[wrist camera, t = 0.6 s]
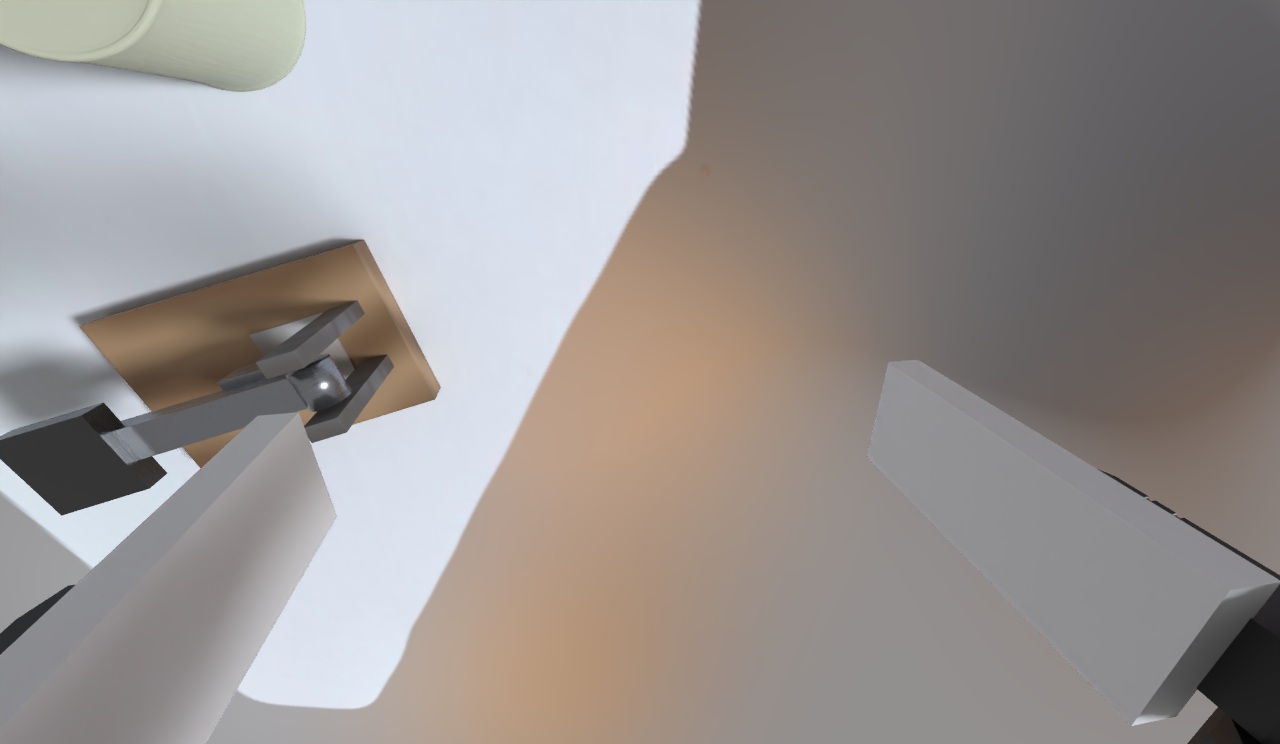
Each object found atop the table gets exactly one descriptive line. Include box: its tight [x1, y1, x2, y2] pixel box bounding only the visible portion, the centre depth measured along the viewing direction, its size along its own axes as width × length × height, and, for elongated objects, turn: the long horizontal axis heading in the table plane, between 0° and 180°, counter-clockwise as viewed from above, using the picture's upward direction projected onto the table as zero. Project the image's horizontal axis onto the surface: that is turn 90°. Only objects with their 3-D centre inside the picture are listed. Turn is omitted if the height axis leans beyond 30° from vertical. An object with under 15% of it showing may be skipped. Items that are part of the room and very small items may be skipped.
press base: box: [80, 240, 441, 468], centre depth 31 cm, size 12×18×11 cm, turn 105°
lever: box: [0, 354, 352, 515], centre depth 28 cm, size 5×17×4 cm, turn 105°
